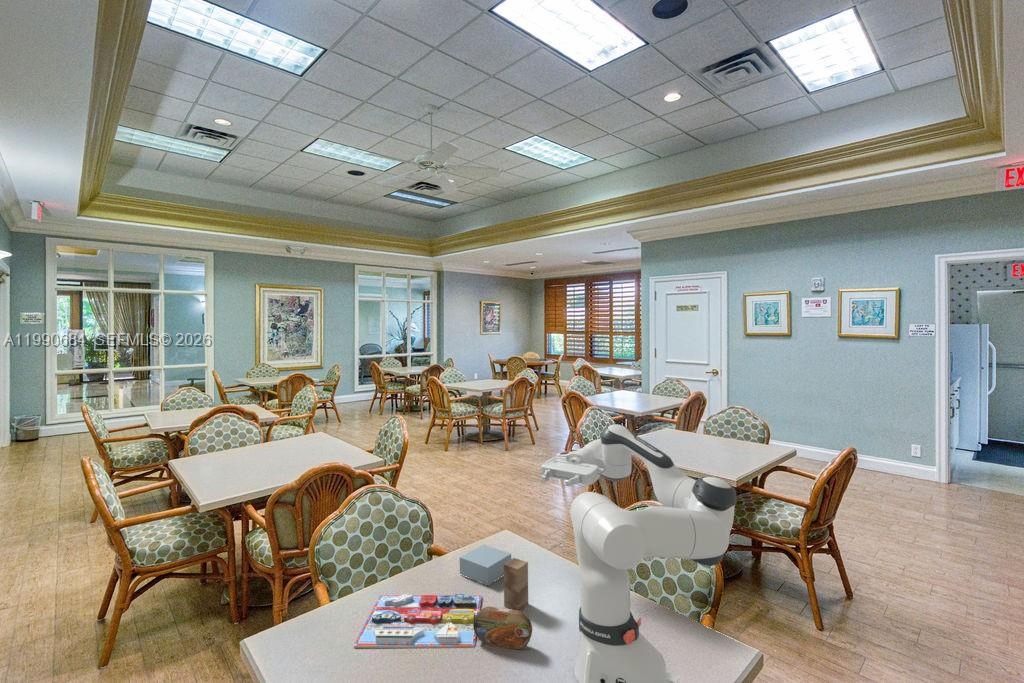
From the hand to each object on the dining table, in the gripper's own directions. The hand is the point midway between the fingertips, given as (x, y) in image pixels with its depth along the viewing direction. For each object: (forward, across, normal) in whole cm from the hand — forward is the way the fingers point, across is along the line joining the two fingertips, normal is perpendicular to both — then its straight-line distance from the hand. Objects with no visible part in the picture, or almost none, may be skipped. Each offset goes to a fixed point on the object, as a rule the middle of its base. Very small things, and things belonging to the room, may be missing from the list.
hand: (554, 481), depth 147 cm
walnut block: (+23, +2, -28) cm, 36 cm away
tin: (+37, -7, -26) cm, 46 cm away
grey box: (+16, +23, -29) cm, 40 cm away
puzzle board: (+45, +16, -24) cm, 53 cm away
